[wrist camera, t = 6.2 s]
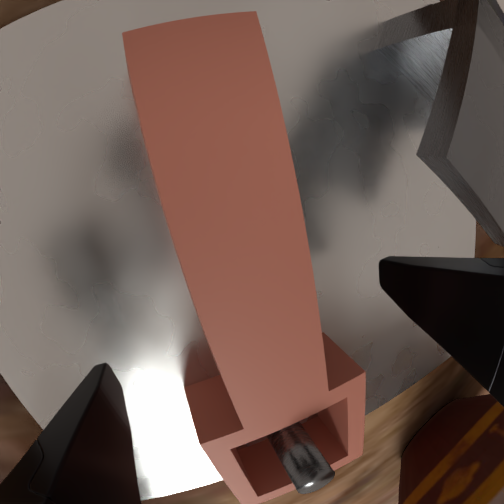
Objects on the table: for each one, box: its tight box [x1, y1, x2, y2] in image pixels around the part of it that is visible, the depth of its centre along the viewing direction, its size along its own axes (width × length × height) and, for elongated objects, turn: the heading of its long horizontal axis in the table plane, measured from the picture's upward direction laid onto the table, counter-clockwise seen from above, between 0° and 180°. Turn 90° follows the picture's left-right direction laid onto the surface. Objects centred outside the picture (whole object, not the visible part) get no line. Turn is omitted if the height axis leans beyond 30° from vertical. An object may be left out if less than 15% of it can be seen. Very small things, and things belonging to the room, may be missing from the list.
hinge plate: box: [0, 0, 476, 500], centre depth 11 cm, size 22×24×1 cm
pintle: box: [266, 421, 335, 494], centre depth 11 cm, size 2×2×4 cm
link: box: [122, 11, 366, 504], centre depth 10 cm, size 17×6×3 cm, turn 14°
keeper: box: [376, 0, 504, 246], centre depth 9 cm, size 7×6×5 cm
